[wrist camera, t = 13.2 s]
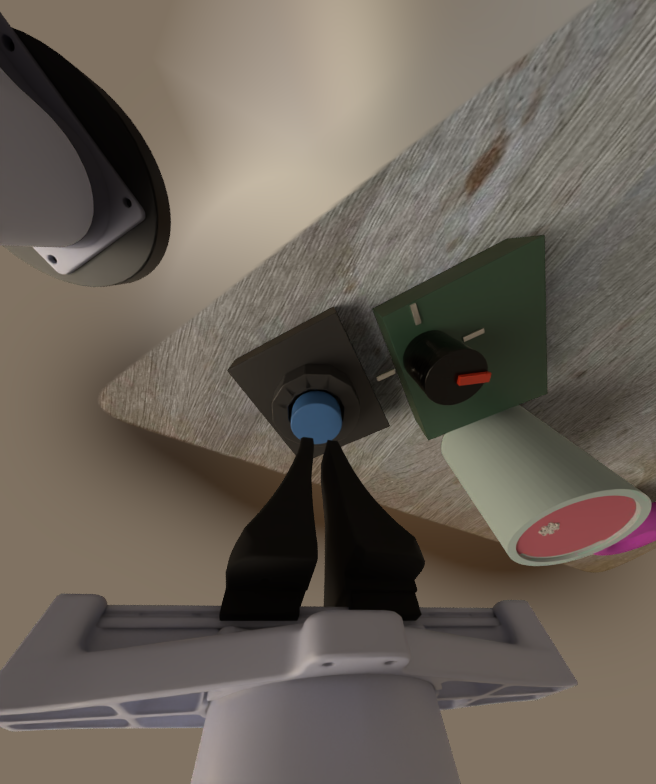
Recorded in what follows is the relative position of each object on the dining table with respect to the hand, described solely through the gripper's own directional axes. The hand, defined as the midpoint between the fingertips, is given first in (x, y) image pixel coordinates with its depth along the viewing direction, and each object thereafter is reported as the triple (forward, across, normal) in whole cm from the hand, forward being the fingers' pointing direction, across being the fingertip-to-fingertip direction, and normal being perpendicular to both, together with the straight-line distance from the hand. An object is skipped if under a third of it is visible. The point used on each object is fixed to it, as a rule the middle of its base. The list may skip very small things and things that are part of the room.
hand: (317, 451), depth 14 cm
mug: (+8, -21, +4) cm, 23 cm away
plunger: (+4, 0, 0) cm, 4 cm away
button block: (+8, 0, 0) cm, 8 cm away
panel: (+8, -11, -6) cm, 15 cm away
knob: (+5, -7, -6) cm, 10 cm away
